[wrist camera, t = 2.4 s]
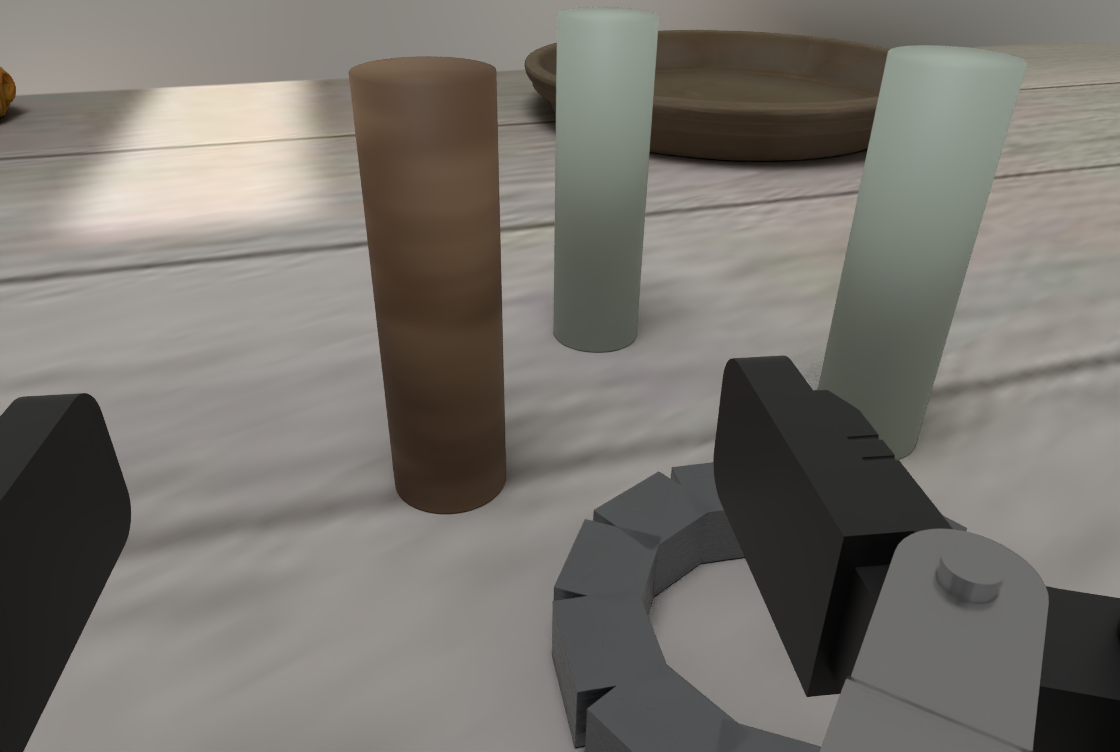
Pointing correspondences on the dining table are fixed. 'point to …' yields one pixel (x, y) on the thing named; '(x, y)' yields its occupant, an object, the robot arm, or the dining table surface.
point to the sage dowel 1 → (601, 172)
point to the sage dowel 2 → (916, 228)
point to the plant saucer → (752, 94)
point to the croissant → (6, 91)
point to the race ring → (644, 622)
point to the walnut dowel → (436, 271)
